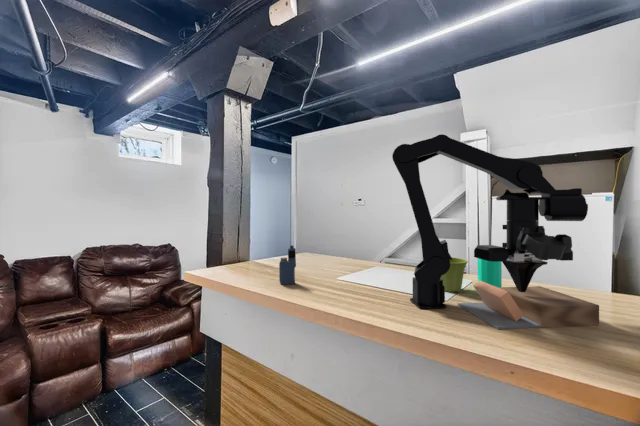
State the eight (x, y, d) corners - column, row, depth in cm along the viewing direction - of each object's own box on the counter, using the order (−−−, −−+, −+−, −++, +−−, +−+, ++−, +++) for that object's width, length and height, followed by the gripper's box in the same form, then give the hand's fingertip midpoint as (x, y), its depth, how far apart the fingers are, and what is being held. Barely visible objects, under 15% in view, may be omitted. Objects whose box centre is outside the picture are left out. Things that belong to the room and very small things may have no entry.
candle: (505, 291, 79) (505, 249, 79) (481, 290, 80) (481, 248, 80) (496, 286, 85) (496, 246, 85) (474, 285, 86) (474, 245, 86)
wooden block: (541, 327, 55) (541, 306, 55) (493, 303, 69) (493, 287, 69) (599, 325, 56) (599, 305, 56) (539, 302, 70) (539, 286, 70)
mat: (497, 328, 55) (497, 326, 55) (457, 304, 69) (457, 303, 69) (541, 327, 55) (541, 325, 55) (493, 303, 69) (493, 302, 69)
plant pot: (469, 288, 83) (469, 258, 83) (466, 296, 75) (466, 263, 75) (435, 283, 88) (435, 256, 88) (429, 291, 80) (429, 260, 80)
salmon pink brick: (524, 315, 57) (516, 321, 57) (493, 301, 66) (486, 306, 66) (508, 291, 57) (500, 297, 57) (479, 280, 66) (473, 285, 66)
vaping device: (295, 284, 89) (295, 246, 88) (278, 284, 89) (278, 246, 89) (296, 282, 91) (296, 245, 91) (280, 282, 91) (279, 245, 91)
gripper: (508, 222, 54) (507, 305, 54) (600, 222, 55) (599, 302, 55) (472, 220, 65) (472, 288, 65) (550, 220, 66) (549, 287, 66)
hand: (521, 291), depth 62 cm, fingers closed
